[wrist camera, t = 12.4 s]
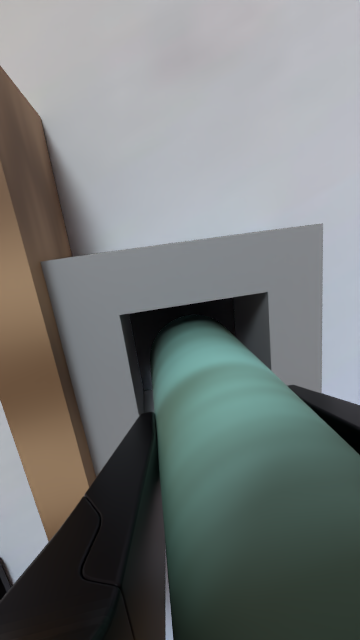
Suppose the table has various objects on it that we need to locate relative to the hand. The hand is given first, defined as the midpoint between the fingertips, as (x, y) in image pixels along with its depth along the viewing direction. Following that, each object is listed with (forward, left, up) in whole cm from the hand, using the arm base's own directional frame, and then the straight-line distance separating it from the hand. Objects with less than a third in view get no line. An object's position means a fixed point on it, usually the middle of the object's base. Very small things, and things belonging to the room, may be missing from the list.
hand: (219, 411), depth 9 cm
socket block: (0, 0, -7) cm, 7 cm away
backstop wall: (+1, +6, -7) cm, 9 cm away
